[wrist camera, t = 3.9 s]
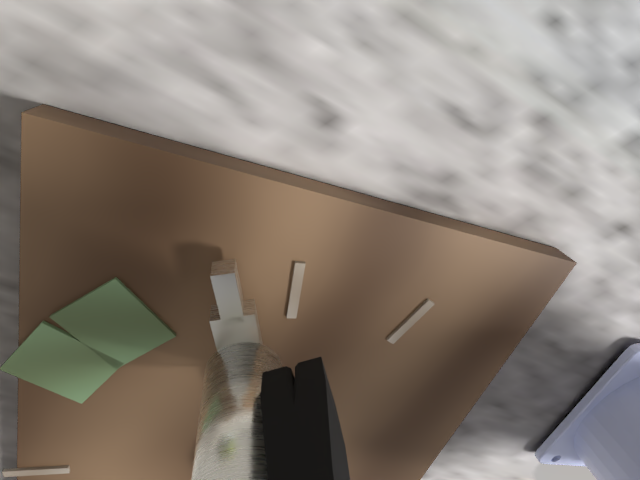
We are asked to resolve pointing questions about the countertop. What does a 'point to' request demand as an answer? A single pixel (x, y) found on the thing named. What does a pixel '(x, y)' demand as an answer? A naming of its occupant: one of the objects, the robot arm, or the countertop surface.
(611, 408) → the robot arm
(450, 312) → the dial board
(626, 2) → the countertop surface
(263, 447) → the needle
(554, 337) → the countertop surface
